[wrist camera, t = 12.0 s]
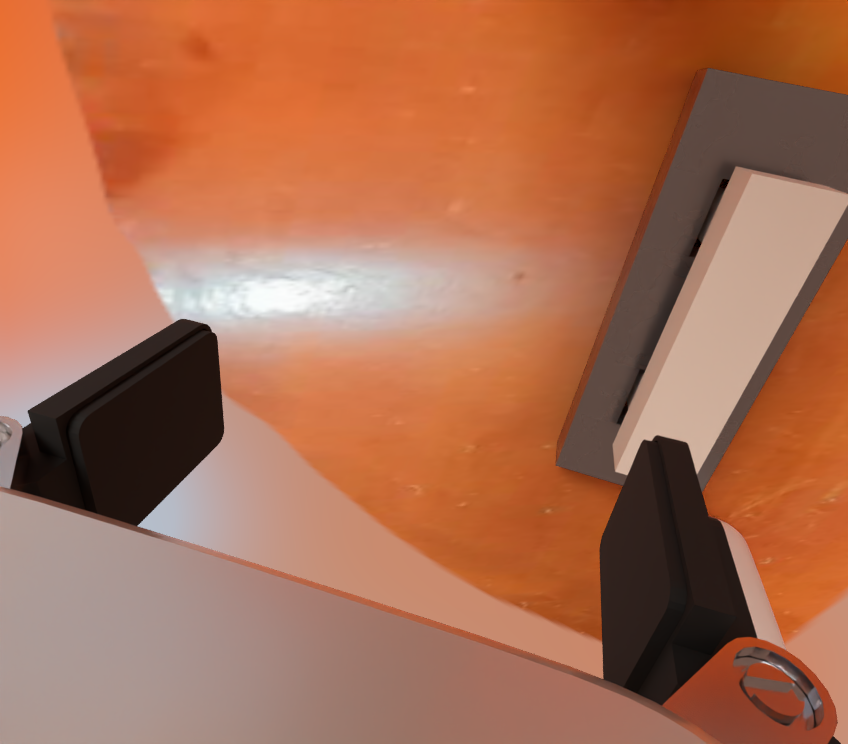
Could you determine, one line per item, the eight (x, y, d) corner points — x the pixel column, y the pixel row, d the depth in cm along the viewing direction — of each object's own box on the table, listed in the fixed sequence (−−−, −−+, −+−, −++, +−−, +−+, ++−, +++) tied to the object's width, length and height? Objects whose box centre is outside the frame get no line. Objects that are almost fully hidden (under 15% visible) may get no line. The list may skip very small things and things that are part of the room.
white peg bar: (716, 157, 31) (751, 173, 25) (795, 174, 31) (852, 195, 24) (609, 411, 40) (614, 471, 34) (669, 428, 40) (686, 493, 33)
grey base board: (697, 70, 30) (708, 67, 27) (890, 108, 28) (921, 109, 26) (557, 442, 43) (555, 465, 40) (686, 481, 41) (693, 507, 39)
